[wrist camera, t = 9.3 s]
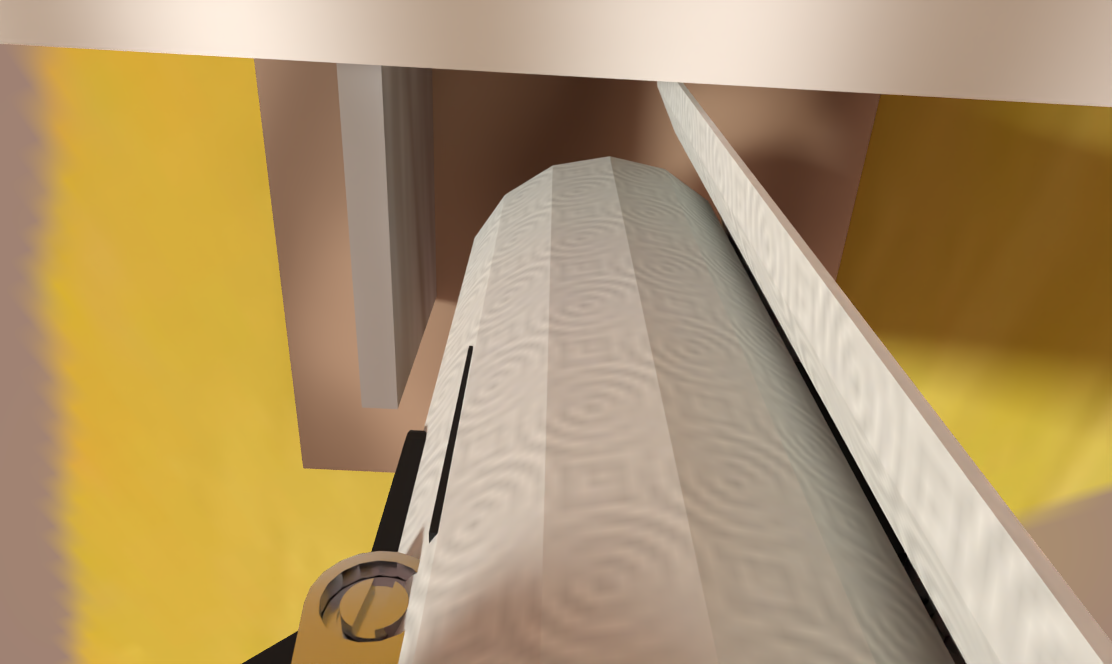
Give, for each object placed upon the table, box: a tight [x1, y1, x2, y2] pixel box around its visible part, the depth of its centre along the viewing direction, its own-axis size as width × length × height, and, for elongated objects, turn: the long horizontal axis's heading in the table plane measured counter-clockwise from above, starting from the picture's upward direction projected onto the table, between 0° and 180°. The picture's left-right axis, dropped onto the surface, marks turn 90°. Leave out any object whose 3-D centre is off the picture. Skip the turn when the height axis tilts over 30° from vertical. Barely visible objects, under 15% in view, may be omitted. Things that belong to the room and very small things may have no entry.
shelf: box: [0, 0, 1112, 473], centre depth 18 cm, size 16×16×12 cm
